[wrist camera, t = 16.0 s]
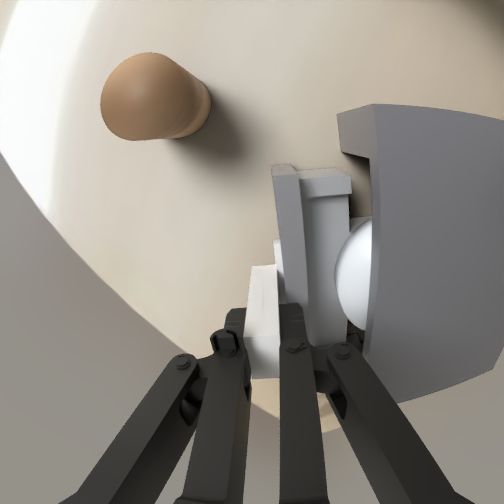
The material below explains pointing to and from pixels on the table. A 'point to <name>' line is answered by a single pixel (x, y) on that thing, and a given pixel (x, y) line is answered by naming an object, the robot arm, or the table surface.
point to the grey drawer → (313, 245)
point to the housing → (431, 244)
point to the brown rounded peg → (153, 99)
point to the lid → (355, 274)
